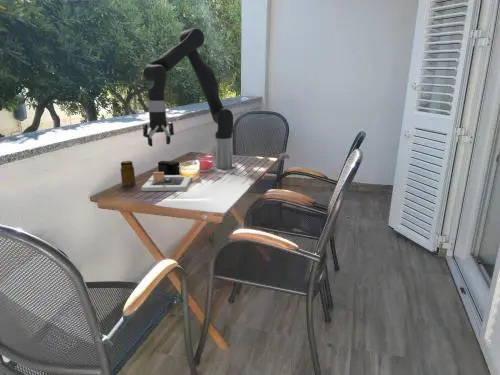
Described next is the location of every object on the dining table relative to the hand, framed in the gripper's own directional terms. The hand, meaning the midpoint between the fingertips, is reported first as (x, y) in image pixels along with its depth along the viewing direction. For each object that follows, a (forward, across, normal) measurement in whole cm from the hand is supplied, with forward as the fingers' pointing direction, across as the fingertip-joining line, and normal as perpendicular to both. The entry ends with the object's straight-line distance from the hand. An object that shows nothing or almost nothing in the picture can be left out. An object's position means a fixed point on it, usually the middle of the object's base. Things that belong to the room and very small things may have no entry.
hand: (159, 145), depth 168 cm
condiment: (+20, +14, -4) cm, 24 cm away
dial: (+18, -1, +6) cm, 19 cm away
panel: (+19, -1, +6) cm, 20 cm away
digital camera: (+19, -9, -13) cm, 25 cm away
